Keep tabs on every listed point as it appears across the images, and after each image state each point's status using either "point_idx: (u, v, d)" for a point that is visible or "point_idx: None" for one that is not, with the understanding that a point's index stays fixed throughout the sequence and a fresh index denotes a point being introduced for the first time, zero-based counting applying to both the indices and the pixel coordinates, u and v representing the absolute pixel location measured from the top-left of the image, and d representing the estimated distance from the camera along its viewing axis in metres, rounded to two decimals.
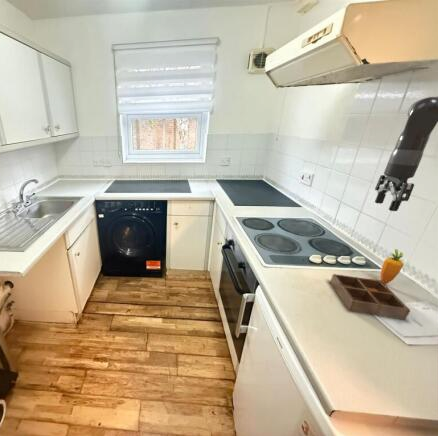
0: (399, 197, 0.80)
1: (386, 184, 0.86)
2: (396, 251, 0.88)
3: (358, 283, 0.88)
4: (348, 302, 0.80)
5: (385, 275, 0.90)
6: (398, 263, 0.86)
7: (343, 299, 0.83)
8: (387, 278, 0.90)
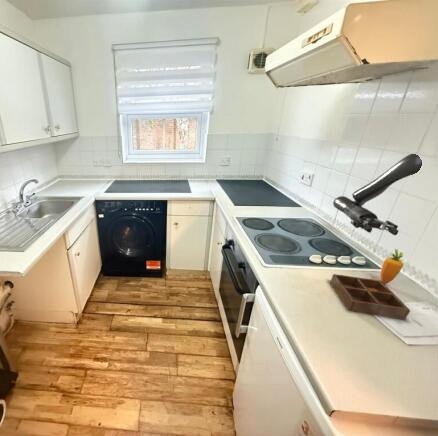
0: None
1: None
2: (396, 251, 0.88)
3: (358, 283, 0.88)
4: (348, 302, 0.80)
5: (385, 275, 0.90)
6: (398, 263, 0.86)
7: (343, 299, 0.83)
8: (387, 278, 0.90)
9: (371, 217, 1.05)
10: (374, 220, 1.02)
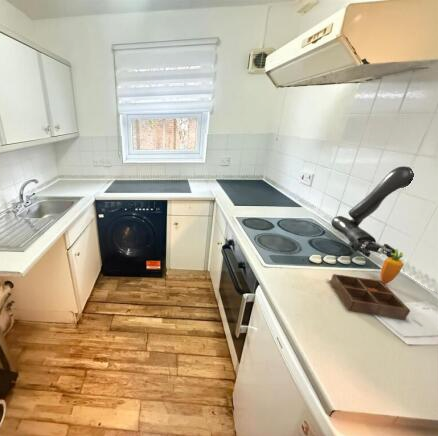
0: None
1: None
2: (396, 251, 0.88)
3: (358, 283, 0.88)
4: (348, 302, 0.80)
5: (385, 275, 0.90)
6: (398, 263, 0.86)
7: (343, 299, 0.83)
8: (387, 278, 0.90)
9: (369, 240, 1.04)
10: (372, 243, 1.02)
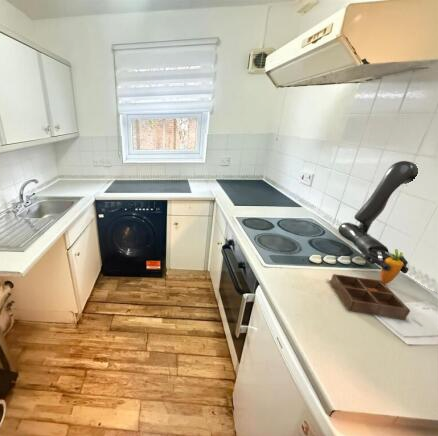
0: None
1: None
2: (396, 251, 0.88)
3: (358, 283, 0.88)
4: (348, 302, 0.80)
5: (385, 275, 0.90)
6: (398, 263, 0.86)
7: (343, 299, 0.83)
8: (387, 278, 0.90)
9: (381, 249, 0.97)
10: (384, 253, 0.94)
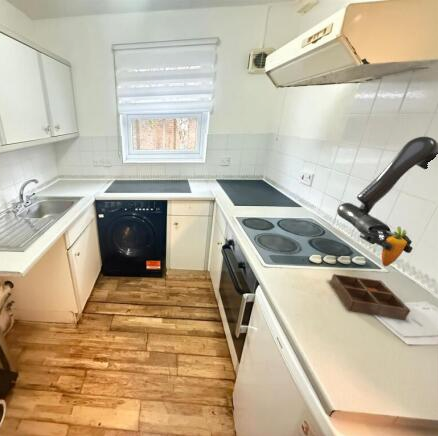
0: None
1: None
2: (399, 229, 0.79)
3: (358, 283, 0.88)
4: (348, 302, 0.80)
5: (387, 256, 0.82)
6: (401, 242, 0.78)
7: (343, 299, 0.83)
8: (389, 259, 0.81)
9: (383, 229, 0.88)
10: (386, 233, 0.86)
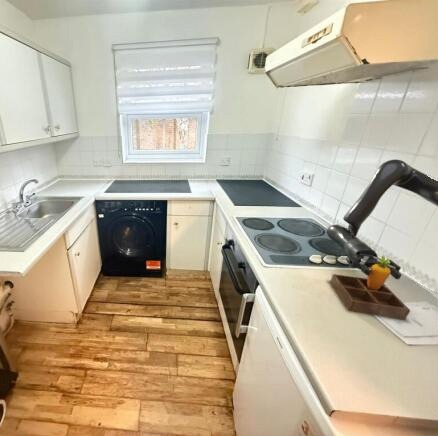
0: None
1: None
2: (383, 257, 0.82)
3: (358, 283, 0.88)
4: (348, 302, 0.80)
5: (372, 283, 0.84)
6: (385, 270, 0.81)
7: (343, 299, 0.83)
8: (374, 286, 0.84)
9: (369, 254, 0.91)
10: (373, 258, 0.88)
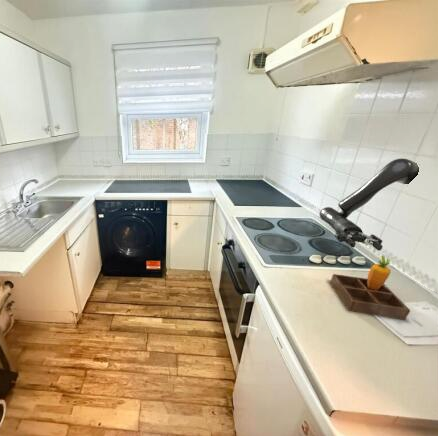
0: None
1: None
2: (383, 257, 0.82)
3: (358, 283, 0.88)
4: (348, 302, 0.80)
5: (372, 283, 0.84)
6: (385, 270, 0.81)
7: (343, 299, 0.83)
8: (374, 286, 0.84)
9: (356, 230, 1.01)
10: (358, 234, 0.99)
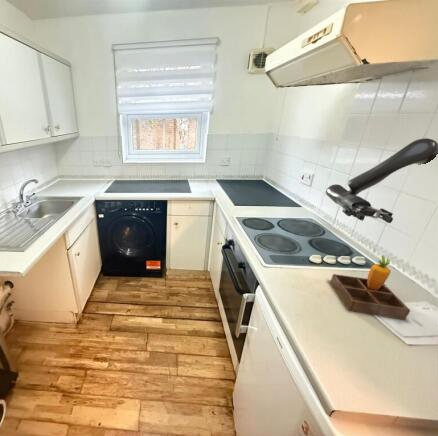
0: None
1: (367, 215, 0.96)
2: (383, 257, 0.82)
3: (358, 283, 0.88)
4: (348, 302, 0.80)
5: (372, 283, 0.84)
6: (385, 270, 0.81)
7: (343, 299, 0.83)
8: (374, 286, 0.84)
9: (364, 205, 0.97)
10: (367, 208, 0.95)
